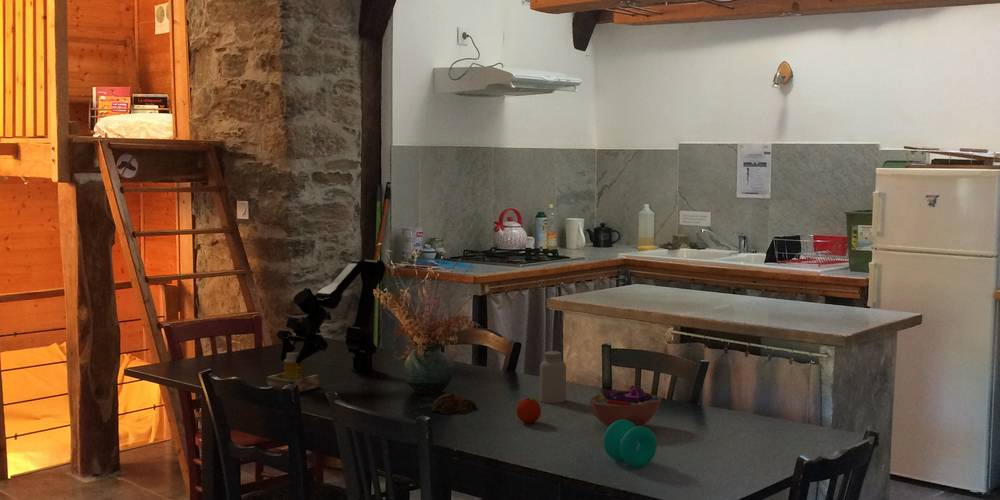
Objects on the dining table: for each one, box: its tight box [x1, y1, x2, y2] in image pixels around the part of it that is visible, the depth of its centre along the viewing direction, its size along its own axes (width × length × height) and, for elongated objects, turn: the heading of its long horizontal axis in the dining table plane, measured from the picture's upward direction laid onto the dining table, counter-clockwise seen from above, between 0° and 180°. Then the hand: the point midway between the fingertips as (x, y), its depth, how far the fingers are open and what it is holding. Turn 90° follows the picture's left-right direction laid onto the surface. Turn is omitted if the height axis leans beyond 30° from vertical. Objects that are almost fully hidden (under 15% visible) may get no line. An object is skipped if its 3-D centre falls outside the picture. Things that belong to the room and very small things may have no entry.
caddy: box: [265, 372, 320, 393], centre depth 333 cm, size 12×12×4 cm
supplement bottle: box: [283, 351, 303, 380], centre depth 333 cm, size 6×6×10 cm
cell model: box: [589, 385, 662, 427], centre depth 282 cm, size 17×20×11 cm
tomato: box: [515, 397, 544, 424], centre depth 288 cm, size 8×7×7 cm
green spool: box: [603, 420, 658, 469], centre depth 249 cm, size 10×10×10 cm
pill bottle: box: [539, 350, 567, 405], centre depth 313 cm, size 8×8×15 cm
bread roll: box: [430, 393, 477, 415], centre depth 304 cm, size 13×12×5 cm
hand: (289, 361), depth 331 cm, fingers open, 7 cm apart
